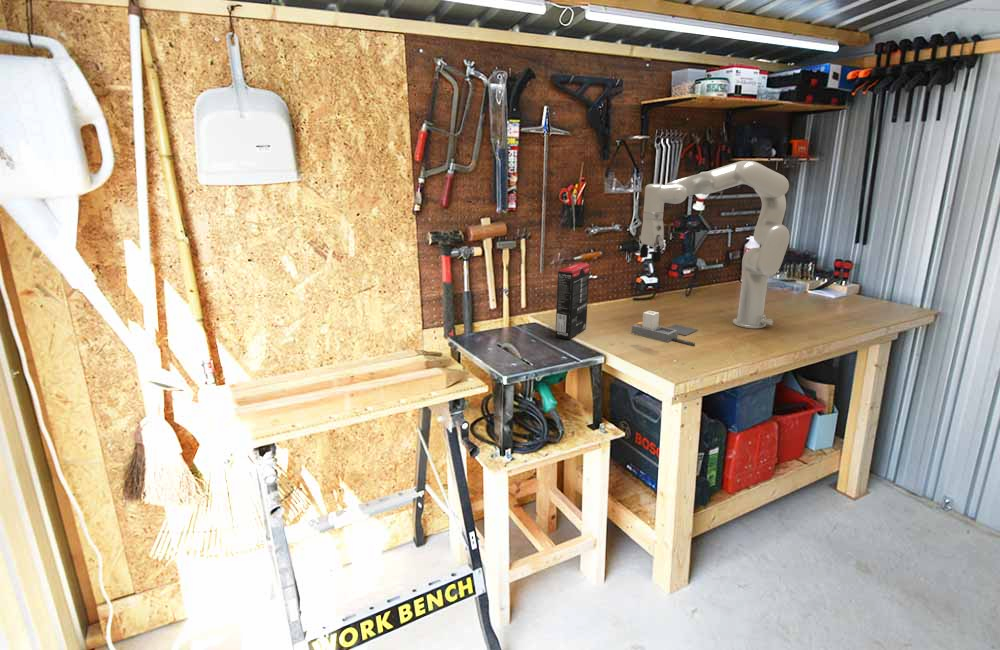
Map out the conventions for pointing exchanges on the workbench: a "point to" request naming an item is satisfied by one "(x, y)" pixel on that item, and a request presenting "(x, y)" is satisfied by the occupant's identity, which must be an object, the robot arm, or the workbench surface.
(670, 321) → the workbench surface
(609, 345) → the workbench surface
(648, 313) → the block
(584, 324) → the graphics card box
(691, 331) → the mat
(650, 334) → the power strip
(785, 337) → the workbench surface
